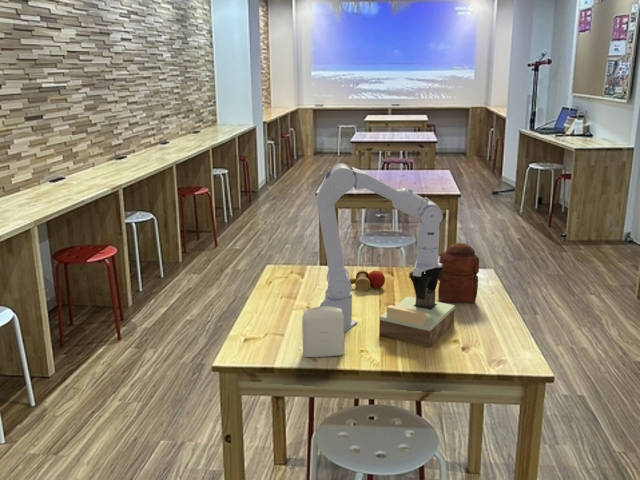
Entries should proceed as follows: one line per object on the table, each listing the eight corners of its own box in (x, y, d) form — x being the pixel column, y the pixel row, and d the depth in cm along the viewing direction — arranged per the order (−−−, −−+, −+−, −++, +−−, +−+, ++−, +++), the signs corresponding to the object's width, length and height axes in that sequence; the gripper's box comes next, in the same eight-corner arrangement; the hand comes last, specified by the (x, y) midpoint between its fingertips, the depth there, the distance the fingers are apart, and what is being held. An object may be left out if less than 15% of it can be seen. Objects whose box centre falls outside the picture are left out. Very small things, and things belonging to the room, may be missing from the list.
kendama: (330, 296, 196) (386, 289, 195) (327, 277, 196) (384, 270, 194) (331, 292, 204) (385, 286, 202) (328, 273, 203) (383, 267, 202)
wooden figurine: (474, 297, 191) (477, 241, 187) (477, 304, 185) (481, 246, 180) (435, 295, 192) (438, 240, 188) (437, 303, 186) (440, 245, 182)
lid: (429, 331, 154) (430, 316, 153) (379, 319, 161) (380, 305, 160) (454, 308, 169) (455, 295, 168) (407, 299, 176) (408, 286, 175)
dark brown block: (429, 315, 167) (430, 295, 165) (415, 313, 169) (416, 292, 167) (434, 311, 170) (435, 290, 168) (421, 308, 172) (421, 288, 170)
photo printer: (303, 359, 149) (302, 311, 146) (301, 351, 153) (301, 304, 150) (345, 357, 150) (345, 309, 147) (342, 349, 154) (343, 303, 151)
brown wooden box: (429, 347, 155) (429, 331, 154) (379, 336, 162) (379, 320, 161) (453, 324, 170) (454, 309, 169) (406, 314, 177) (407, 299, 176)
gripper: (432, 255, 157) (429, 305, 160) (451, 242, 168) (449, 289, 172) (406, 251, 160) (404, 300, 164) (427, 239, 172) (425, 285, 176)
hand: (425, 294), depth 168 cm, fingers open, 7 cm apart
